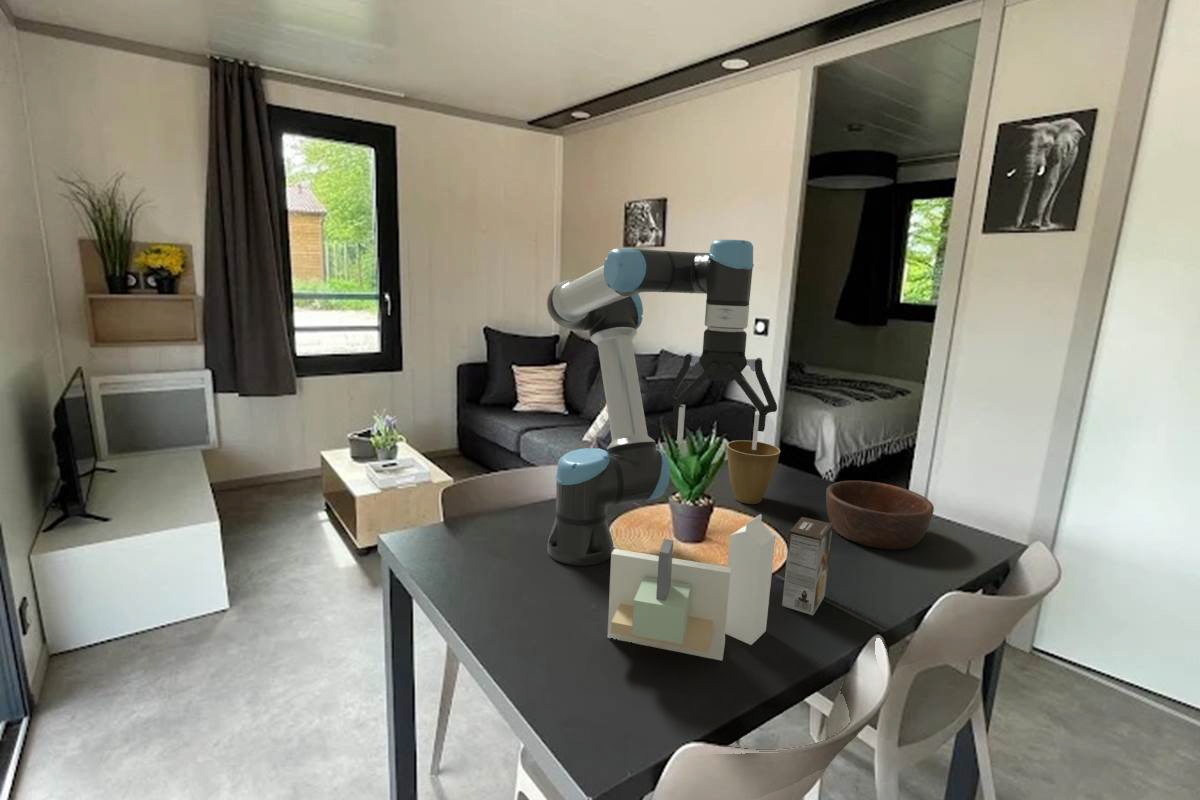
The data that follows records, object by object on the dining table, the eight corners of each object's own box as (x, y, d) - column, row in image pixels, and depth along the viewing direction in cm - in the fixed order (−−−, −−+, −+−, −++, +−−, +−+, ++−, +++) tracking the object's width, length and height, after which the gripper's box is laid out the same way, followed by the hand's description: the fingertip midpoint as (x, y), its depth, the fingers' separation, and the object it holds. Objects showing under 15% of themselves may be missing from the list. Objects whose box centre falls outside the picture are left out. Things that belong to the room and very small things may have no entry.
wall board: (598, 657, 101) (601, 569, 98) (613, 624, 111) (617, 542, 108) (719, 683, 96) (727, 590, 93) (724, 645, 106) (731, 560, 103)
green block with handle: (632, 634, 96) (636, 552, 93) (642, 608, 103) (646, 532, 101) (682, 644, 94) (688, 560, 91) (688, 617, 101) (694, 539, 99)
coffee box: (793, 587, 127) (801, 515, 124) (825, 596, 124) (834, 523, 120) (780, 606, 119) (789, 530, 116) (814, 616, 116) (823, 538, 113)
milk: (766, 631, 111) (778, 518, 106) (751, 646, 106) (763, 528, 102) (735, 618, 114) (746, 508, 110) (720, 632, 110) (731, 518, 105)
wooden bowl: (832, 549, 146) (837, 509, 144) (815, 511, 170) (819, 476, 168) (943, 561, 142) (950, 520, 140) (909, 520, 166) (915, 484, 164)
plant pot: (727, 508, 170) (731, 453, 166) (719, 489, 184) (723, 439, 181) (780, 510, 169) (786, 455, 166) (768, 492, 184) (773, 441, 181)
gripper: (652, 326, 108) (646, 441, 112) (799, 335, 101) (786, 457, 105) (660, 323, 115) (654, 432, 119) (797, 331, 108) (786, 446, 113)
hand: (716, 444), depth 112 cm, fingers open, 13 cm apart
